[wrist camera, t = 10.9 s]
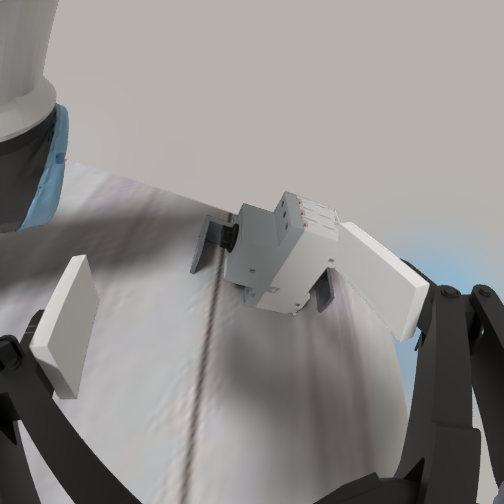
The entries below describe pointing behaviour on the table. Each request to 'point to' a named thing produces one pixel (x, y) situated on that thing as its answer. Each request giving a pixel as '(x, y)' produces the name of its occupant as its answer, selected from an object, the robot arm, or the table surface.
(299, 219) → the circuit breaker
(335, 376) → the table surface
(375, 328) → the table surface
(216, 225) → the grey u-shaped bracket
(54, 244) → the table surface
